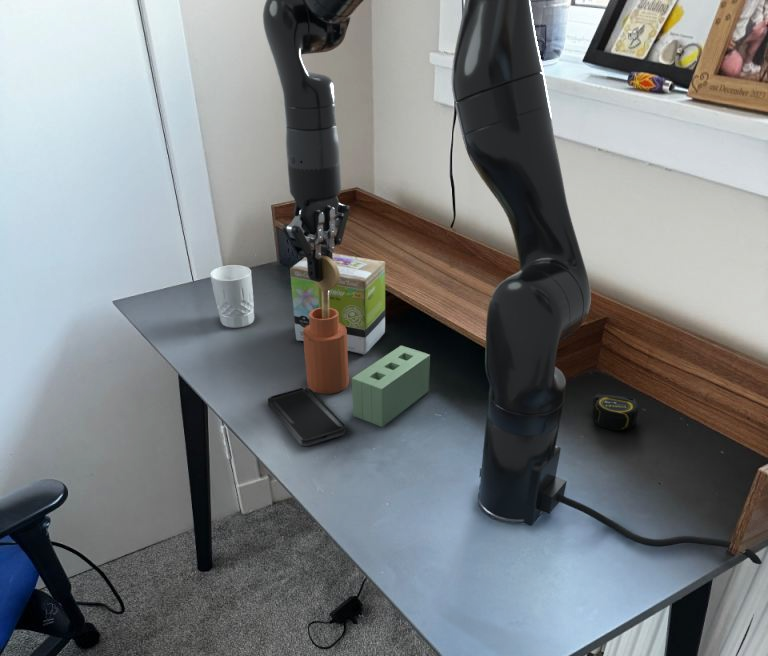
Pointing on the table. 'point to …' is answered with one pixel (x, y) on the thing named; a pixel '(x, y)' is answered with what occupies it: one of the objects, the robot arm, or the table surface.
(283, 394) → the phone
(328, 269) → the tan flat rounded part
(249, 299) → the white cup
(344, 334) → the bottle
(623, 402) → the tape measure
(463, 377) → the table surface
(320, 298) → the tea box
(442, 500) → the table surface
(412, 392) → the holder
